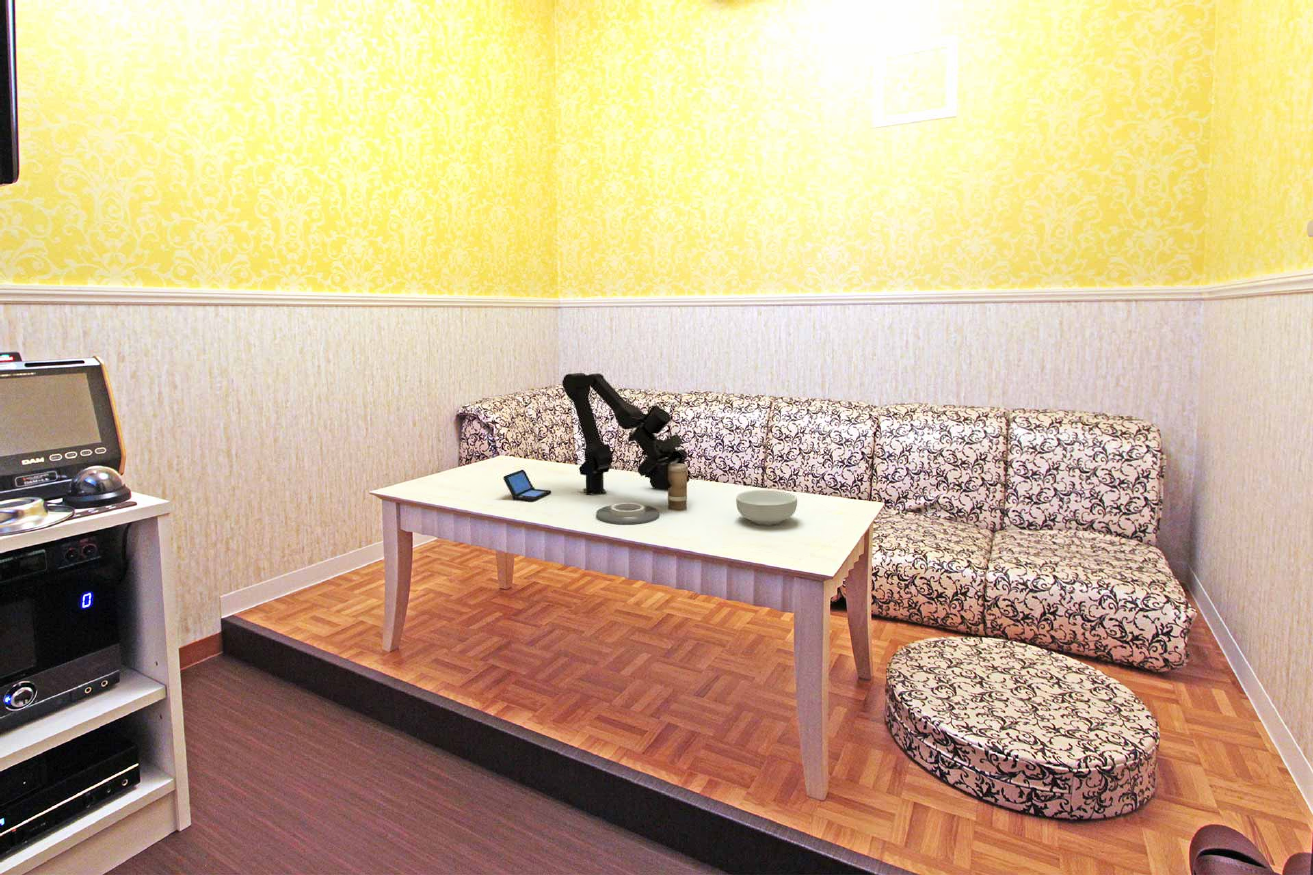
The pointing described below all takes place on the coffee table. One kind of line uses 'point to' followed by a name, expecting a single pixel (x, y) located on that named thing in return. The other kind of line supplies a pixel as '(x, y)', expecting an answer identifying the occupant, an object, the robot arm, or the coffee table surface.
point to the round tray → (627, 514)
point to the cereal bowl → (766, 506)
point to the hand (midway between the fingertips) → (679, 484)
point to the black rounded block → (665, 470)
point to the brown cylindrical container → (677, 487)
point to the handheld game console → (523, 487)
